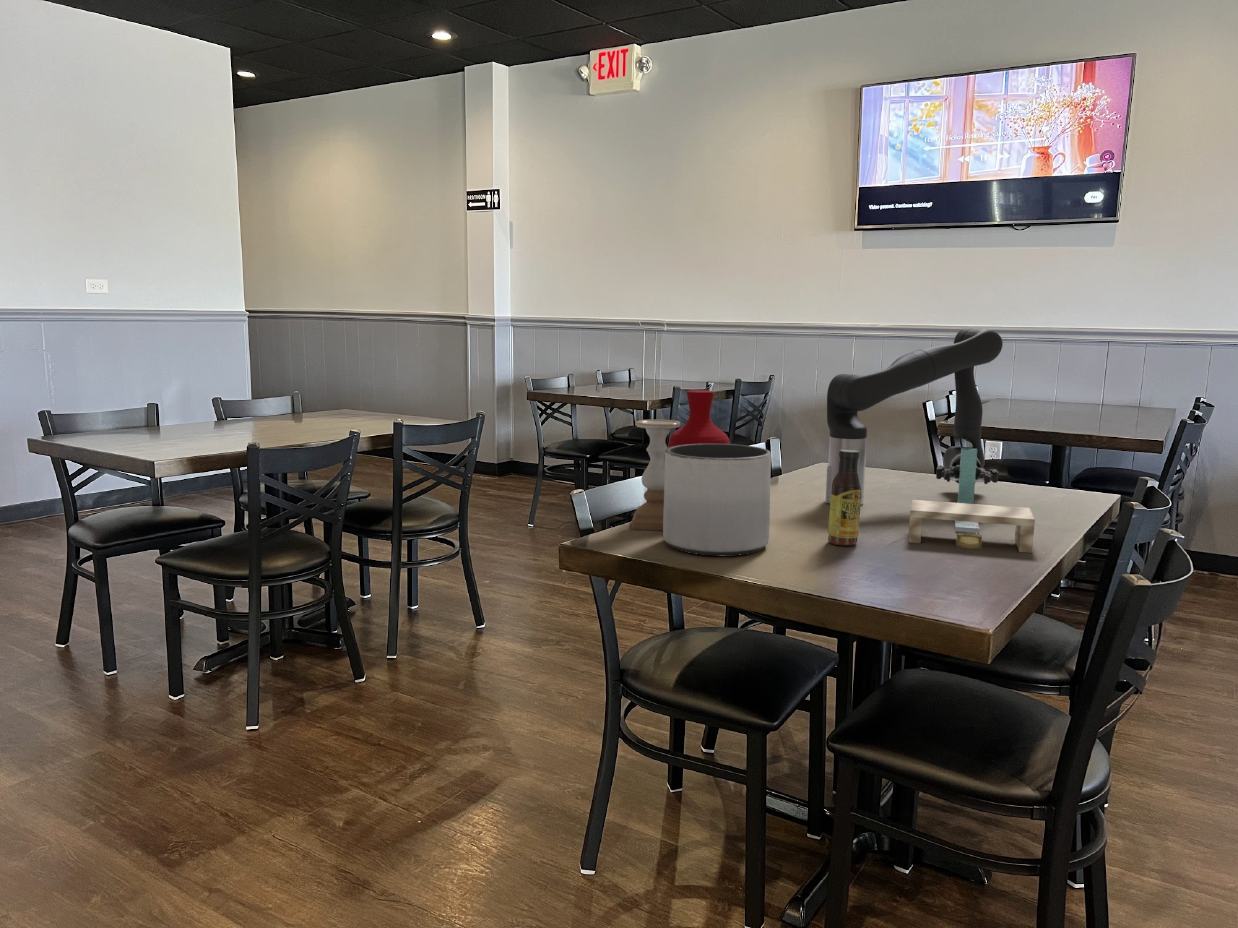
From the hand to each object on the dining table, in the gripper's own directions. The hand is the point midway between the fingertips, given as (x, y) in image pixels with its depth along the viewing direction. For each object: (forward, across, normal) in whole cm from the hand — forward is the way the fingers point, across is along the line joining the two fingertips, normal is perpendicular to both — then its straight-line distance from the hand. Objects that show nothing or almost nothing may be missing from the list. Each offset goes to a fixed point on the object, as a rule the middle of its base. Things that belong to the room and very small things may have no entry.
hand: (967, 478), depth 213 cm
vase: (+24, -61, +9) cm, 66 cm away
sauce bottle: (+40, -25, +9) cm, 48 cm away
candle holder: (+38, -67, +9) cm, 77 cm away
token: (+32, 0, +9) cm, 33 cm away
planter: (+51, -50, +9) cm, 72 cm away
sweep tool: (+8, 0, +9) cm, 12 cm away
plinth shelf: (+28, 0, +9) cm, 29 cm away
